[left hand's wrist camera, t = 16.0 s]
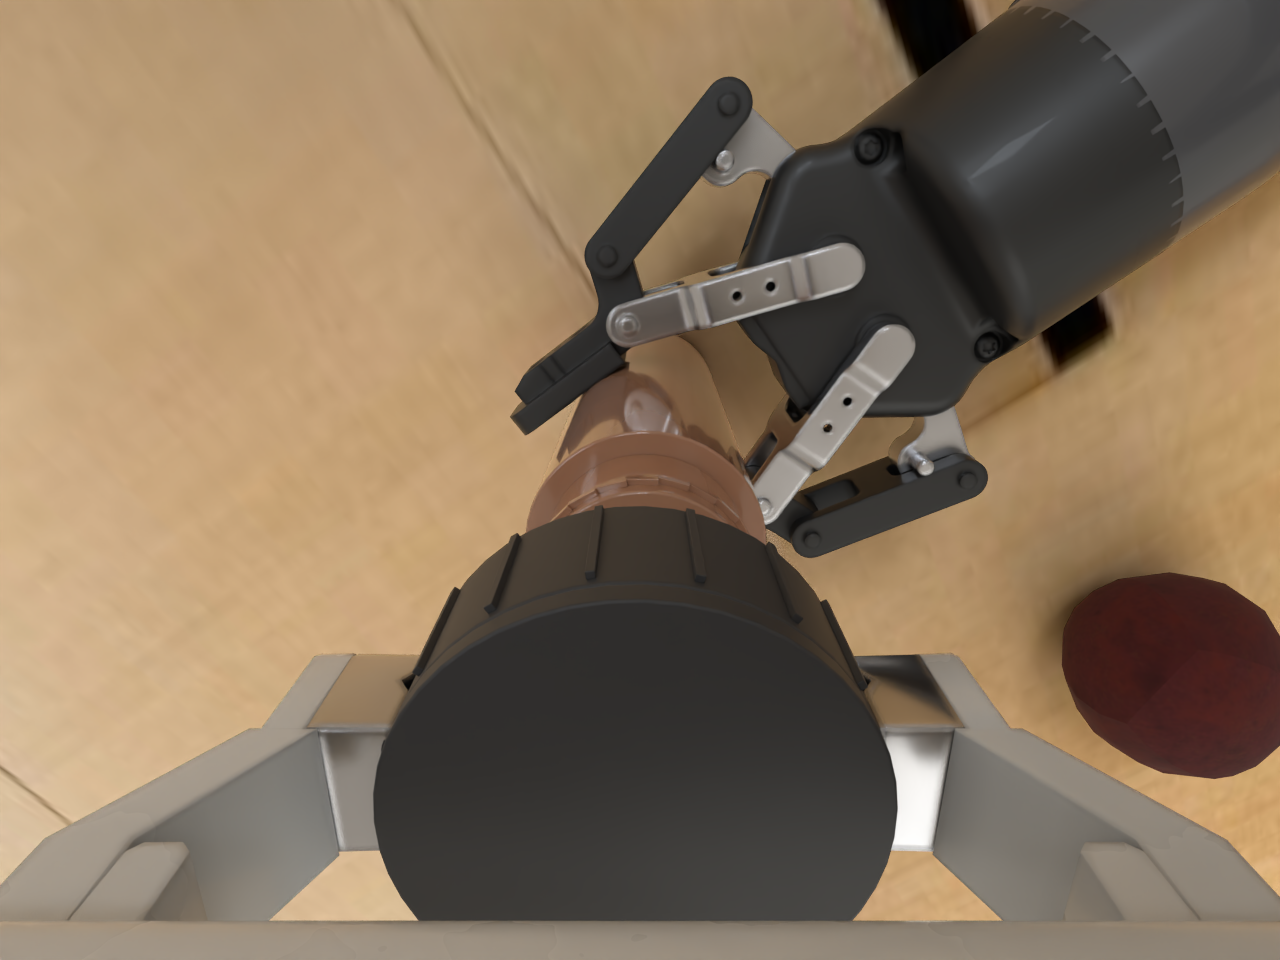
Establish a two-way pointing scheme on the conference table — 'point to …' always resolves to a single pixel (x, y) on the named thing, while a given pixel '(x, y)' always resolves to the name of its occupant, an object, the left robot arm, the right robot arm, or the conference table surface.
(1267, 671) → the potato
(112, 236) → the conference table surface
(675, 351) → the jar
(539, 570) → the lid
